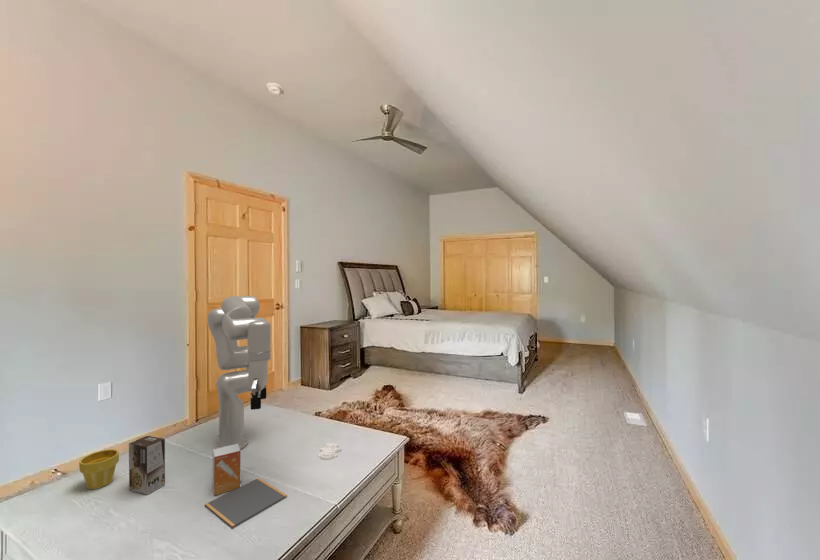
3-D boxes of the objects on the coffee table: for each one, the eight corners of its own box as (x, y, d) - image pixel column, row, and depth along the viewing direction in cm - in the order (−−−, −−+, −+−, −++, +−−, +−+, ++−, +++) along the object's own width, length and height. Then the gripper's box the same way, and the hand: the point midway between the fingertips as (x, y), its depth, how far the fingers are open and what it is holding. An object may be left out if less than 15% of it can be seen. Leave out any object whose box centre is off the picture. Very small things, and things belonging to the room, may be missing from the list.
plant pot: (73, 496, 115) (73, 466, 115) (86, 479, 124) (86, 452, 124) (113, 488, 119) (113, 459, 119) (123, 473, 129) (123, 446, 129)
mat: (204, 506, 110) (204, 503, 110) (258, 479, 124) (258, 477, 124) (232, 528, 100) (232, 526, 100) (287, 497, 114) (287, 494, 114)
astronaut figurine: (344, 447, 149) (344, 440, 149) (334, 461, 137) (334, 454, 137) (324, 445, 150) (324, 438, 150) (313, 460, 139) (313, 452, 139)
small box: (213, 496, 115) (213, 456, 115) (212, 486, 120) (212, 449, 120) (240, 488, 119) (240, 450, 119) (238, 479, 125) (238, 442, 125)
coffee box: (166, 484, 121) (166, 438, 121) (146, 495, 115) (146, 447, 115) (147, 479, 124) (147, 434, 124) (128, 490, 118) (128, 442, 118)
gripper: (253, 350, 131) (252, 396, 131) (241, 362, 114) (241, 414, 114) (274, 350, 132) (274, 394, 133) (265, 361, 116) (265, 412, 116)
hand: (258, 403), depth 123 cm, fingers open, 9 cm apart
